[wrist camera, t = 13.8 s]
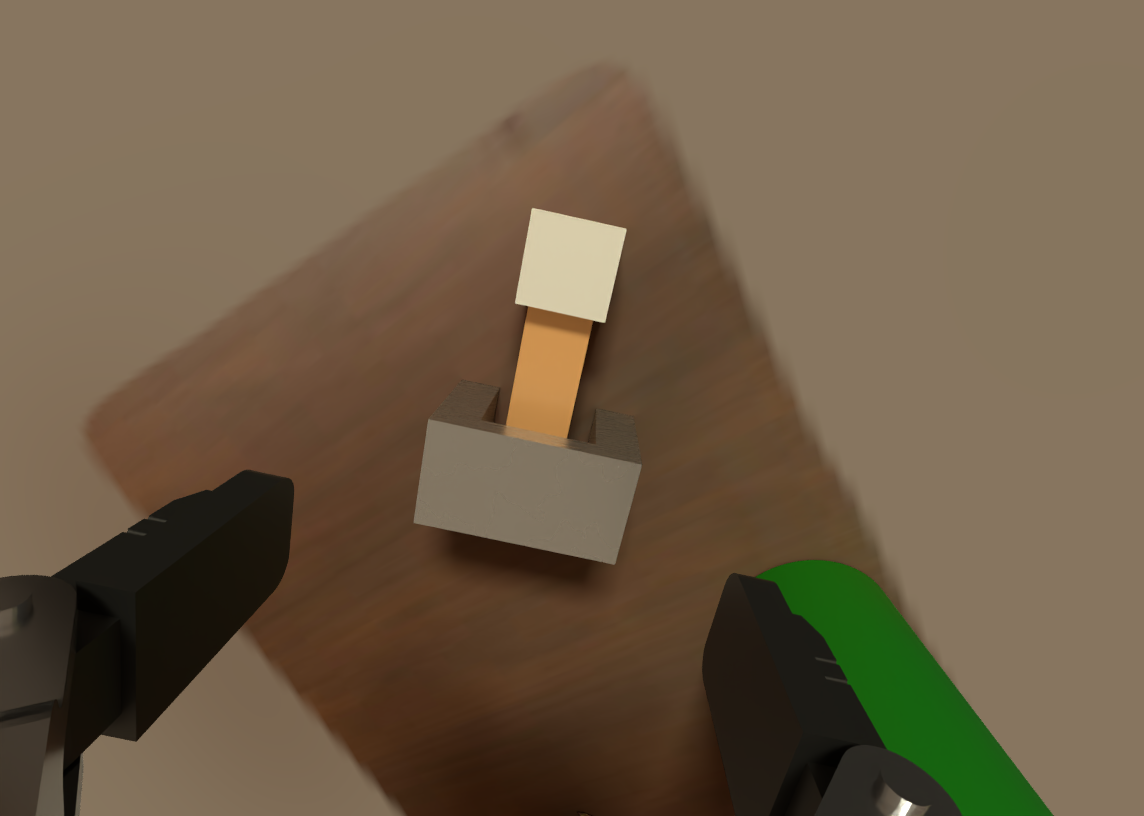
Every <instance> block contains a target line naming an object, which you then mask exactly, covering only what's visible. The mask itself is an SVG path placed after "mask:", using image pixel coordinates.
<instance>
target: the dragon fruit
mask: <svg viewBox="0 0 1144 816" xmlns="http://www.w3.org/2000/svg"><path fill="white" fill-rule="evenodd" d="M577 813H578V814H579V815H580V816H591V815H587V814H586V813H580V812H577Z"/></svg>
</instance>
